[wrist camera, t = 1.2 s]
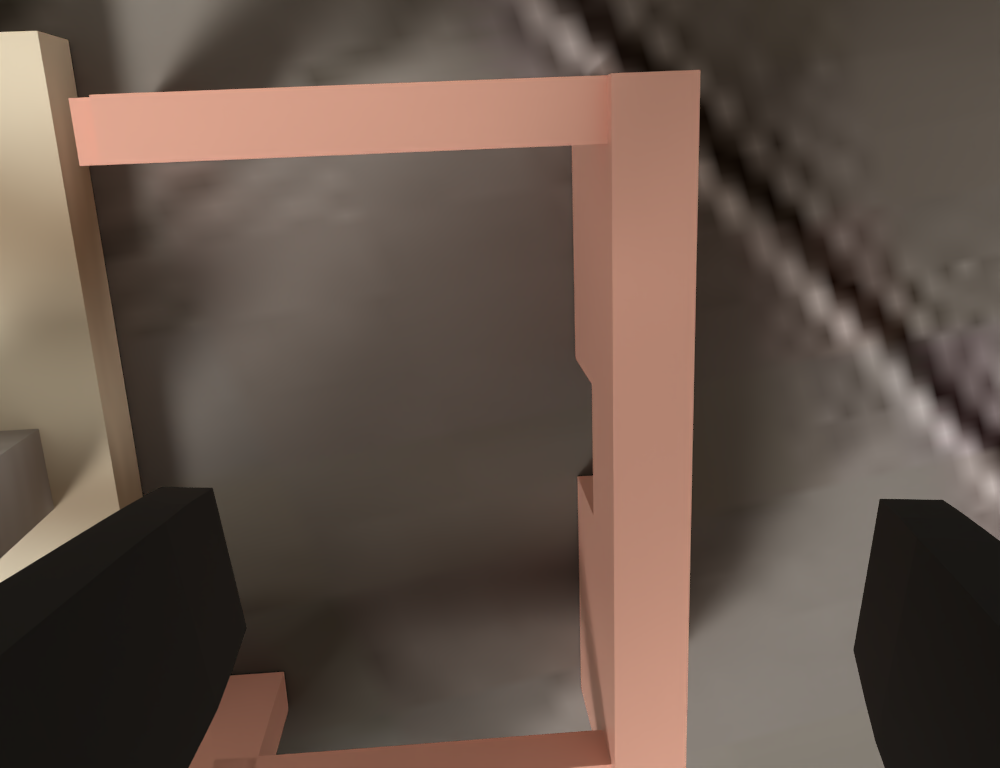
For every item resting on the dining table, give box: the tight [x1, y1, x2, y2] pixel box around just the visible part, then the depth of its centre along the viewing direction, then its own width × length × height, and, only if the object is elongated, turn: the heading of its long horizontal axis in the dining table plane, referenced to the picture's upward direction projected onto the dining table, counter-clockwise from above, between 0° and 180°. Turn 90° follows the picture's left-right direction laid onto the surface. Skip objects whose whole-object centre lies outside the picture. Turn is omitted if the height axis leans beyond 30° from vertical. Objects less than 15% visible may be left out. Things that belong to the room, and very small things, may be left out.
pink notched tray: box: [68, 70, 701, 768], centre depth 19 cm, size 16×11×5 cm
